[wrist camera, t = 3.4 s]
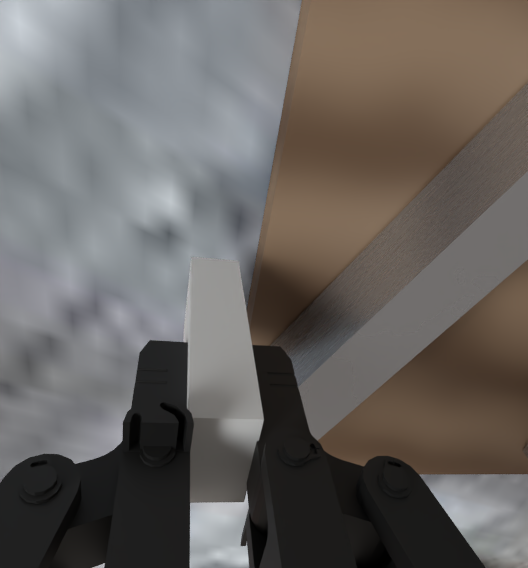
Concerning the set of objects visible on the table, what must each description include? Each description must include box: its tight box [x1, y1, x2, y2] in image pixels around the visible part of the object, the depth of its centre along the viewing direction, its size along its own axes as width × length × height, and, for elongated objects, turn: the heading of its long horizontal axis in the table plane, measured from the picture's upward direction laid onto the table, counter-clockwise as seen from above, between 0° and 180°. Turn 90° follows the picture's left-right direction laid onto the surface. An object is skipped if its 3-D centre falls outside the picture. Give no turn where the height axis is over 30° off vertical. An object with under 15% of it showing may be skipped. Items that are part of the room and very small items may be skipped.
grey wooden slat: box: [270, 83, 528, 441], centre depth 15 cm, size 20×2×3 cm, turn 140°
